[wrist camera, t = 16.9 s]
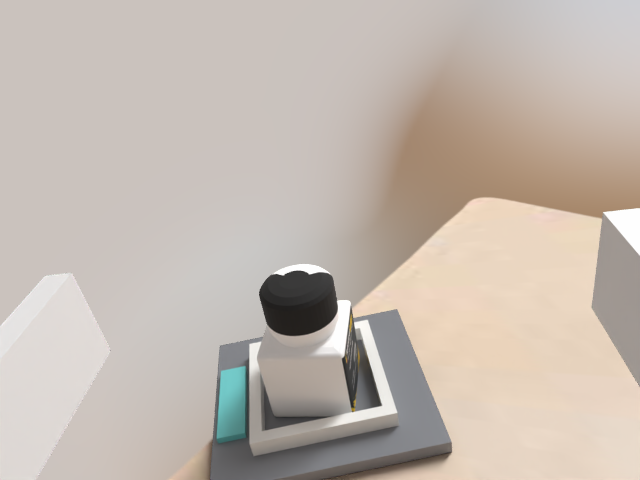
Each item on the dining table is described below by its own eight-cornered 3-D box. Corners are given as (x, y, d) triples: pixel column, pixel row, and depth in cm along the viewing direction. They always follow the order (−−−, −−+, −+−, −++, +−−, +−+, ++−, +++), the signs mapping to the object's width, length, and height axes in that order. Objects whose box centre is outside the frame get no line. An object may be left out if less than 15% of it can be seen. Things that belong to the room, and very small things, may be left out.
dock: (397, 317, 55) (395, 297, 54) (451, 452, 41) (450, 428, 39) (222, 354, 55) (216, 334, 54) (212, 502, 40) (203, 481, 39)
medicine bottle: (355, 418, 43) (334, 305, 37) (273, 418, 45) (240, 310, 39) (360, 357, 49) (343, 252, 43) (288, 359, 51) (261, 257, 45)
